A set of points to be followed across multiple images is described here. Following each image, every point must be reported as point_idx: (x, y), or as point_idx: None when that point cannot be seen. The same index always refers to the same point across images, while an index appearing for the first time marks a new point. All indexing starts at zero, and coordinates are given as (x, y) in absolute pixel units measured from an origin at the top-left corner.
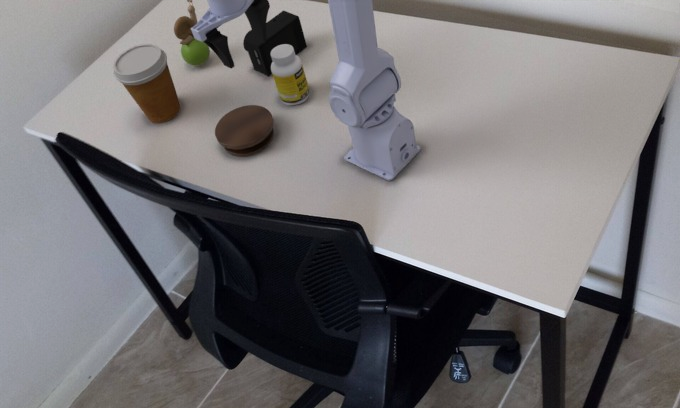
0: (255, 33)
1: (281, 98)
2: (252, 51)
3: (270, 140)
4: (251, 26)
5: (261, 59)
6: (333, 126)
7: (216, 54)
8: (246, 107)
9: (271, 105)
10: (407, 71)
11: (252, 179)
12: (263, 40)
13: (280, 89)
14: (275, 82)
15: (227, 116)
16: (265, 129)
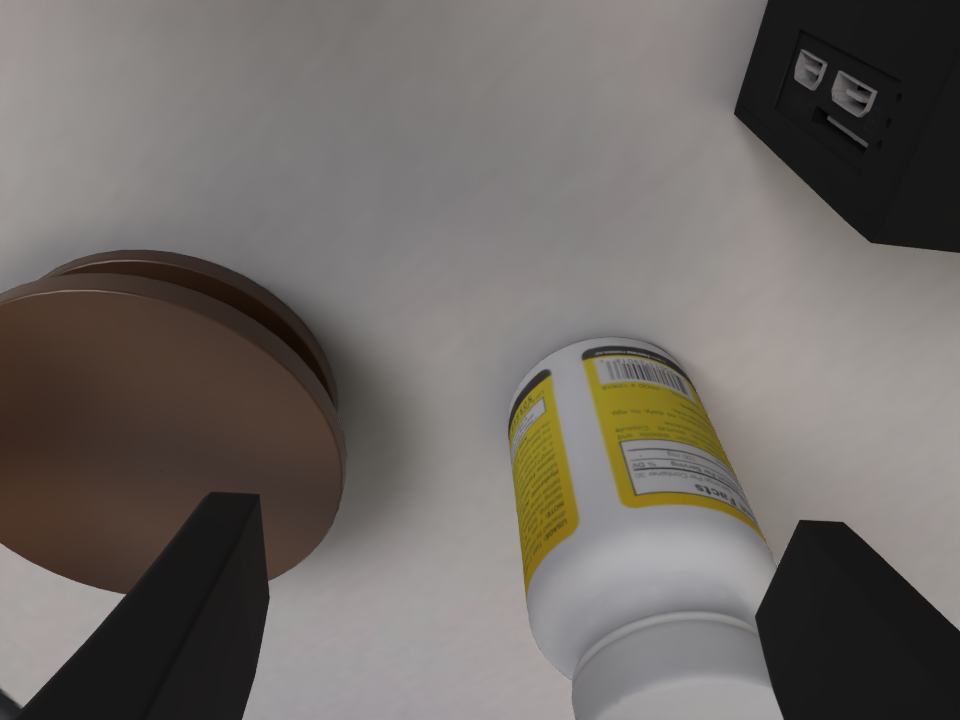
0: (840, 624)
1: (513, 421)
2: (878, 43)
3: None
4: (917, 686)
5: (804, 152)
6: (482, 647)
7: (96, 632)
8: (269, 380)
9: (470, 332)
10: None
11: (9, 571)
12: (766, 654)
13: (516, 498)
14: (531, 497)
15: (107, 321)
16: None
